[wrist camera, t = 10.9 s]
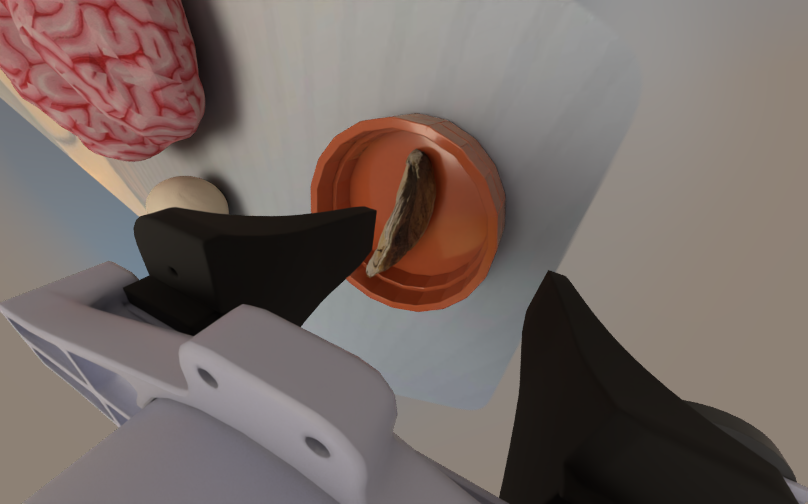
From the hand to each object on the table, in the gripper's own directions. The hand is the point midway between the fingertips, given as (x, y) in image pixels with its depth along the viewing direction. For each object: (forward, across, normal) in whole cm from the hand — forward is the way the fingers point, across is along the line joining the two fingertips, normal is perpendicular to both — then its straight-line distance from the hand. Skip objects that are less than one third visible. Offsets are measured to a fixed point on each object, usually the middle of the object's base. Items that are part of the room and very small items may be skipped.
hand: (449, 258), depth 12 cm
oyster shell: (+10, +6, +4) cm, 12 cm away
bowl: (+10, +5, +3) cm, 12 cm away
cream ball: (+11, +28, +10) cm, 32 cm away
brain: (+11, +33, -4) cm, 35 cm away
